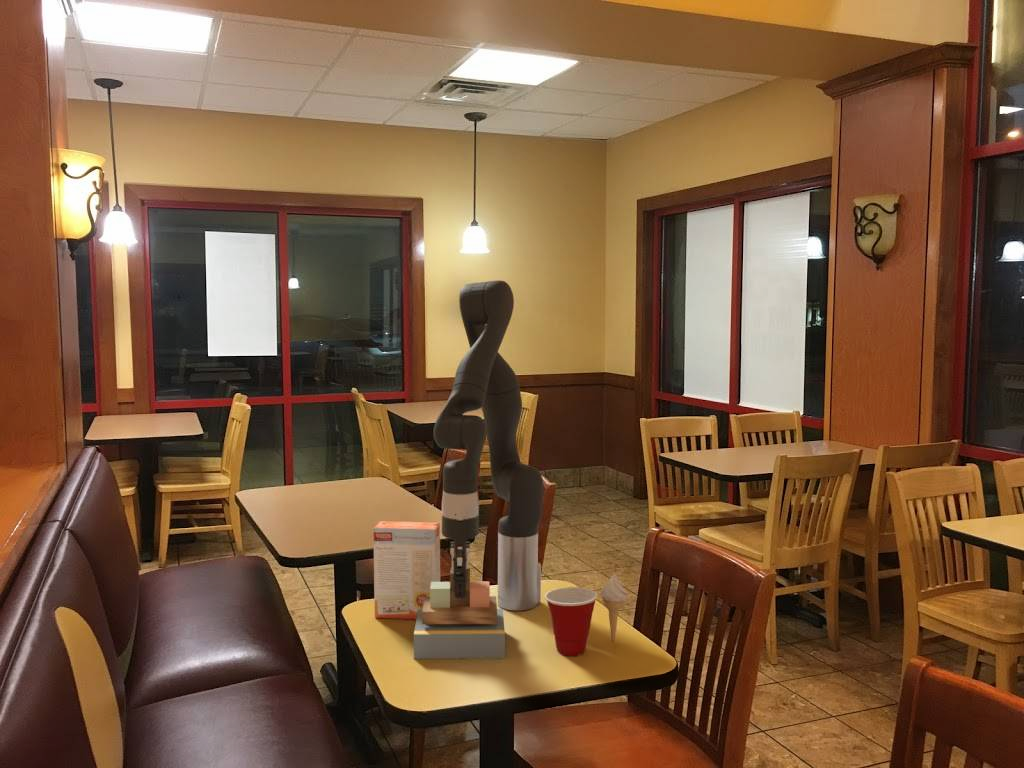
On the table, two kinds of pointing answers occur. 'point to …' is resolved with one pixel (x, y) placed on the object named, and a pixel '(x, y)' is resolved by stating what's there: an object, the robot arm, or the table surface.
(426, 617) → the pallet
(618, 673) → the table surface
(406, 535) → the cracker box
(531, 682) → the table surface
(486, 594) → the block
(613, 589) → the ice cream cone
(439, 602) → the pale green cube
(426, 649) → the dock
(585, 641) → the plastic cup
